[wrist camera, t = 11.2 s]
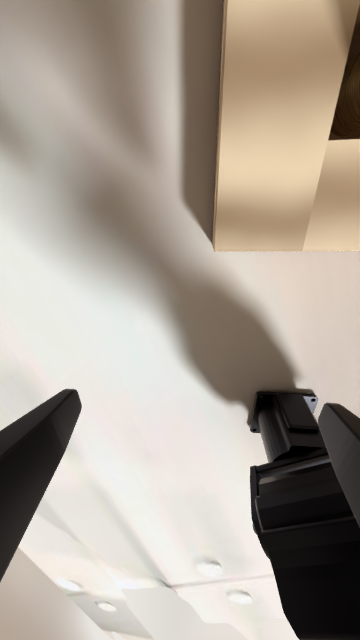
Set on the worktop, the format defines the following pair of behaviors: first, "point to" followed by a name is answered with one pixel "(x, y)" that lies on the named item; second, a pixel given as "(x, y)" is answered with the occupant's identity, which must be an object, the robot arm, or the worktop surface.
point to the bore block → (285, 128)
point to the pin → (348, 102)
